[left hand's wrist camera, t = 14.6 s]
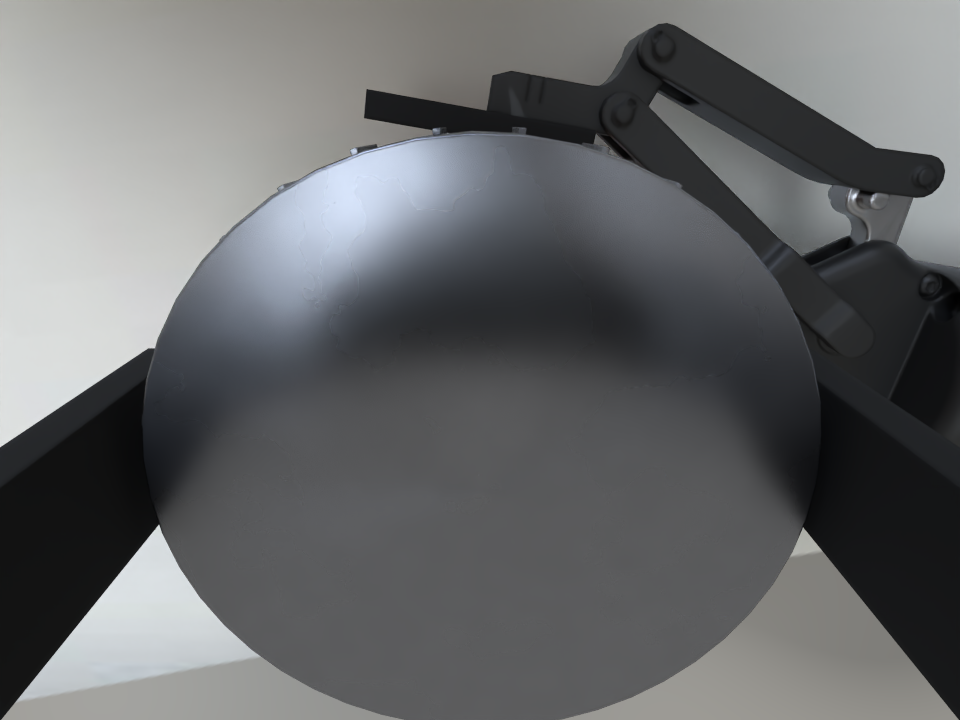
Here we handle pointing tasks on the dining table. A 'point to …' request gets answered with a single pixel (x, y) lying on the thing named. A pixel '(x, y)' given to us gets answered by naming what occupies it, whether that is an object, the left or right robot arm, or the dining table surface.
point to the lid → (481, 428)
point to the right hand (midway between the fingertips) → (356, 283)
